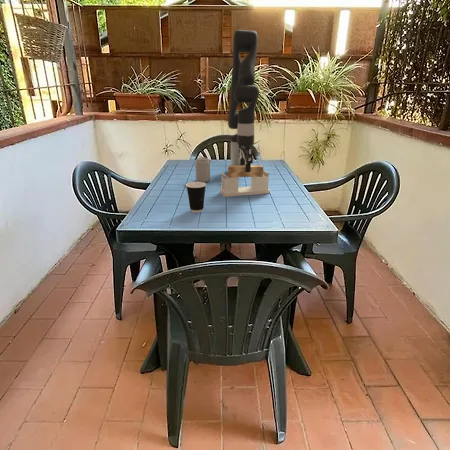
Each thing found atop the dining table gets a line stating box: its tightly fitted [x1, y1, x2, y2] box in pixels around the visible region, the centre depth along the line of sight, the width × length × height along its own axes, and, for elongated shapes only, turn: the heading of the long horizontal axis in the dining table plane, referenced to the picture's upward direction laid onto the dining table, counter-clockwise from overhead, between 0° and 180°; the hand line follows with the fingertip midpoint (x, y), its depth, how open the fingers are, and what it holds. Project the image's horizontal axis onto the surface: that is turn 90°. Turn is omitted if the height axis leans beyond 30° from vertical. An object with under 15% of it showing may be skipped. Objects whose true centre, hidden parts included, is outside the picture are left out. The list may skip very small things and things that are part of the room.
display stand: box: [219, 169, 271, 198], centre depth 162 cm, size 22×8×10 cm, turn 104°
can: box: [194, 157, 211, 183], centre depth 182 cm, size 8×8×12 cm
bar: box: [227, 164, 264, 178], centre depth 160 cm, size 16×4×4 cm, turn 93°
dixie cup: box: [185, 181, 207, 214], centre depth 139 cm, size 8×8×11 cm
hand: (245, 169), depth 160 cm, fingers open, 8 cm apart
